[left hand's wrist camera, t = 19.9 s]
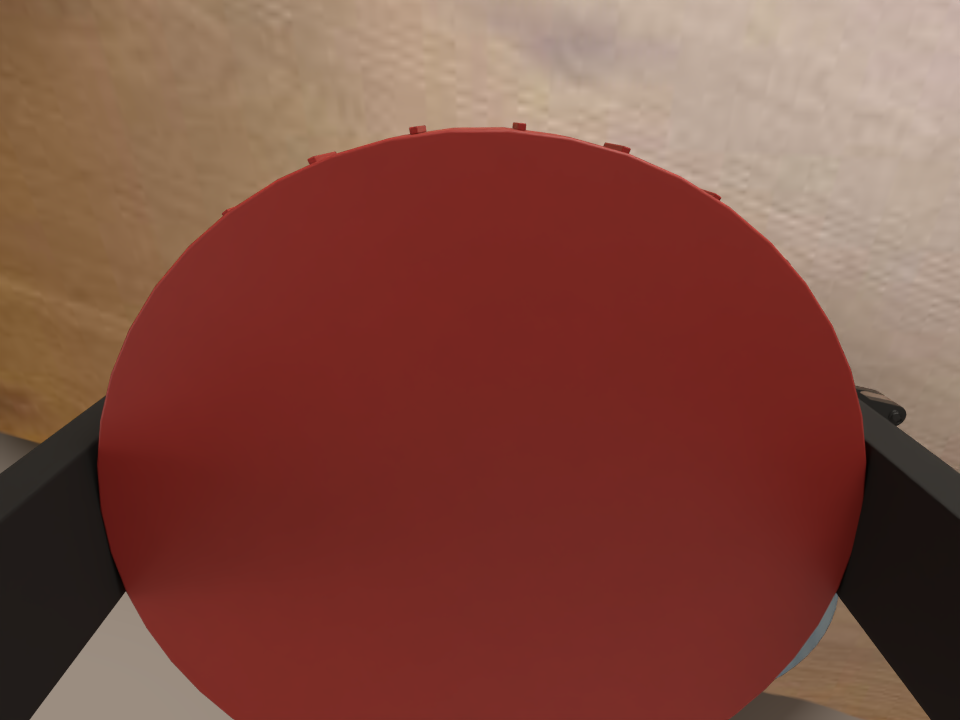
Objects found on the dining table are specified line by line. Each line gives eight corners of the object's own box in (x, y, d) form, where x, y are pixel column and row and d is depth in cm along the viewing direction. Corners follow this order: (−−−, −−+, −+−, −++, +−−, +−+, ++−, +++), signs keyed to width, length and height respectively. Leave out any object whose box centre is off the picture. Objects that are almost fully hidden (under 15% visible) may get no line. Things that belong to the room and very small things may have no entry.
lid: (286, -27, 9) (239, -62, 7) (950, 324, 11) (1044, 364, 9) (79, 587, 13) (12, 666, 11) (604, 778, 15) (622, 873, 13)
